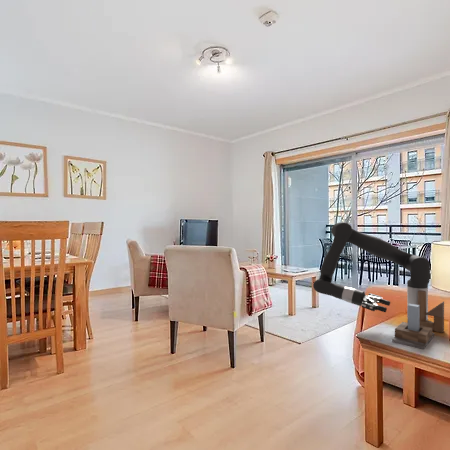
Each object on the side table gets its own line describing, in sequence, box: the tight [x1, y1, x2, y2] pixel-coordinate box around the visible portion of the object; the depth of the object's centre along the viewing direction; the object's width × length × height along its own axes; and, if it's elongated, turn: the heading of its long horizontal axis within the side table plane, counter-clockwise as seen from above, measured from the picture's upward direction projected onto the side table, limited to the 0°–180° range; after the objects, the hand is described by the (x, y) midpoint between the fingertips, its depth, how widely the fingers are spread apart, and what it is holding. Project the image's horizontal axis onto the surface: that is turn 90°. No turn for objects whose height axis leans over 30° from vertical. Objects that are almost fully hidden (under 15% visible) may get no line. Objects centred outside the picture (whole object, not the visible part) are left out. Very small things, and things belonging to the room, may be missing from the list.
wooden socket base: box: [391, 321, 435, 350], centre depth 142 cm, size 20×12×4 cm, turn 136°
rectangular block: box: [407, 304, 420, 332], centre depth 142 cm, size 3×4×14 cm
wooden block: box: [418, 290, 445, 334], centre depth 152 cm, size 4×11×18 cm, turn 45°
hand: (388, 306), depth 151 cm, fingers open, 8 cm apart
